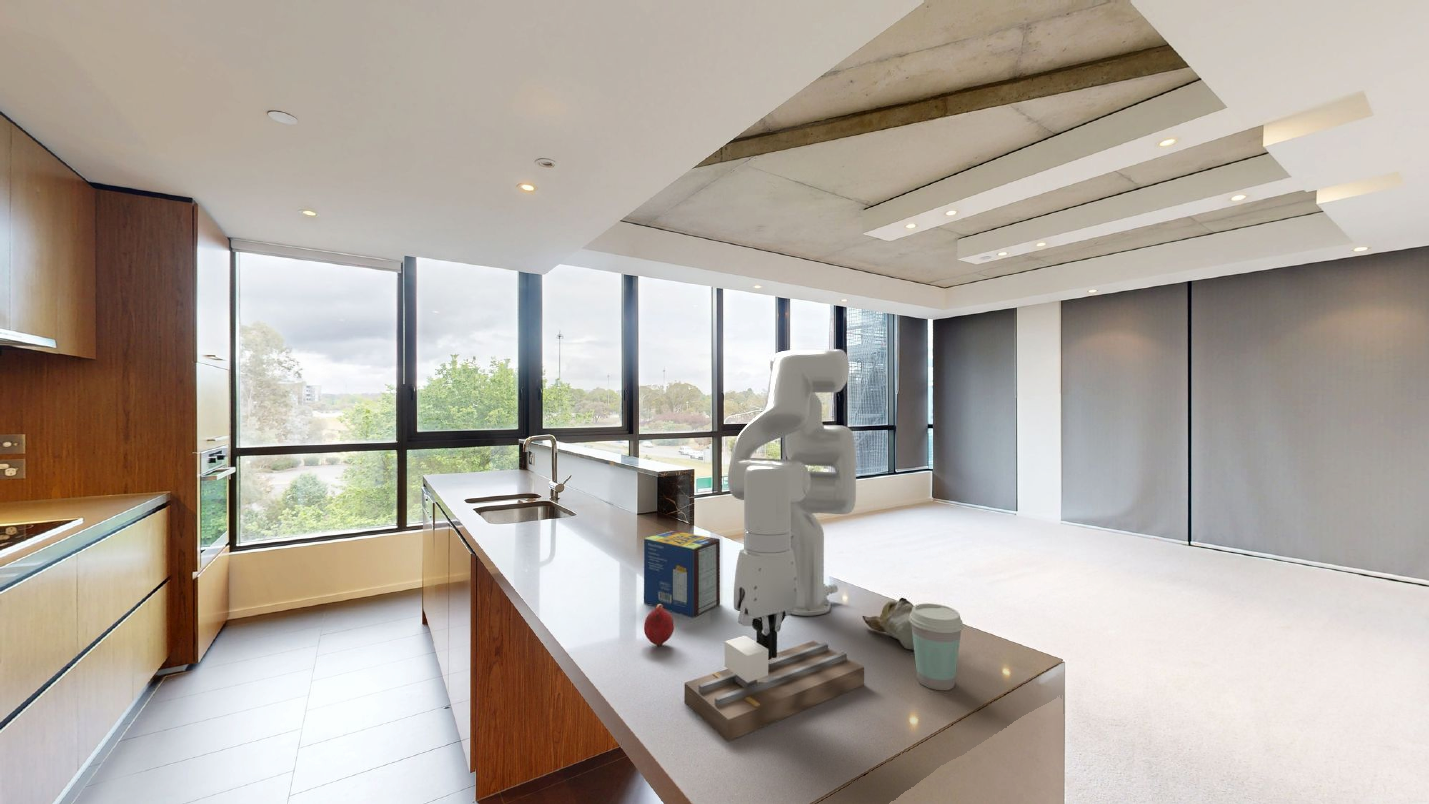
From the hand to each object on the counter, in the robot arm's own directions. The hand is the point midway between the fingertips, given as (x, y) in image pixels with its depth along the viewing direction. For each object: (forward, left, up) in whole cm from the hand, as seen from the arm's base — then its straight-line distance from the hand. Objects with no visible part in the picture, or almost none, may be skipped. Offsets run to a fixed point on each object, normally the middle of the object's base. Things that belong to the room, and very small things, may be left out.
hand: (766, 655), depth 87 cm
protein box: (-9, -43, -7) cm, 45 cm away
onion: (+6, -26, -7) cm, 28 cm away
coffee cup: (-27, +12, -7) cm, 31 cm away
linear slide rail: (-2, 0, -7) cm, 7 cm away
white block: (+4, 0, -3) cm, 5 cm away
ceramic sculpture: (-37, -2, -7) cm, 38 cm away
